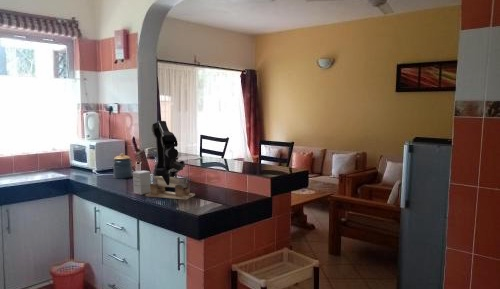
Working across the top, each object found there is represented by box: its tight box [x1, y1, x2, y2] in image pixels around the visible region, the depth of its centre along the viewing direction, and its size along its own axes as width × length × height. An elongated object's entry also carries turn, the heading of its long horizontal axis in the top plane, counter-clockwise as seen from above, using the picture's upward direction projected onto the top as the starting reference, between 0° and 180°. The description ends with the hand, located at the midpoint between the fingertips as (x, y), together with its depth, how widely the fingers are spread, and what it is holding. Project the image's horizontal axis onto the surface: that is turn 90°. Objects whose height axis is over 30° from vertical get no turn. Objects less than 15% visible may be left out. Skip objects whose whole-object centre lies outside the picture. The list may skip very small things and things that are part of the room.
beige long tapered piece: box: [144, 182, 196, 200], centre depth 208 cm, size 10×26×7 cm, turn 70°
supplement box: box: [132, 170, 152, 195], centre depth 216 cm, size 7×7×13 cm
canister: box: [112, 152, 133, 180], centre depth 269 cm, size 13×13×18 cm
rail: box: [152, 176, 188, 188], centre depth 208 cm, size 4×20×5 cm, turn 70°
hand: (169, 184), depth 208 cm, fingers closed on rail, 3 cm apart
